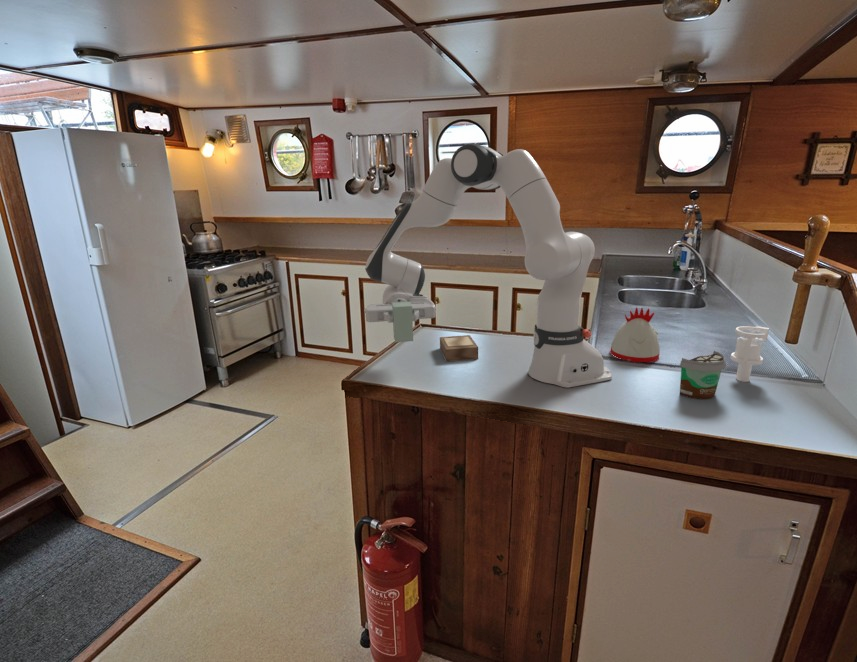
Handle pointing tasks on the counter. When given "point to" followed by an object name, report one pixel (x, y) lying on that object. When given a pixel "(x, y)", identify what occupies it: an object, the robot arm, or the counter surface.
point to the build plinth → (458, 348)
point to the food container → (701, 375)
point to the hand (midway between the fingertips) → (402, 319)
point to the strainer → (748, 350)
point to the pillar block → (402, 321)
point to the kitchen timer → (636, 339)
